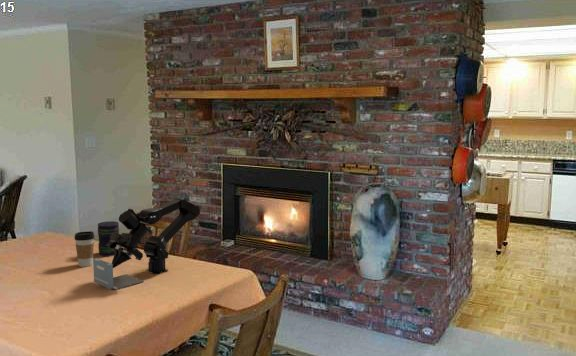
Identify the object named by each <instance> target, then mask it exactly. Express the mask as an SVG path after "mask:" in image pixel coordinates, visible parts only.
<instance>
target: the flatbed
mask: <svg viewBox="0 0 576 356" xmlns="http://www.w3.org/2000/svg"><path fill="white" fill-rule="evenodd" d="M143 283H145V281H144V280H143V279H139V278H137V277H135V276H133V275H130V274H127V273H126V274H121V275H119V276H118V275H117V276H113V286H114V288H111V289H110V290H113V291H117V290H121V289H122V290H123V289H125V288H128V287H132V286H135V285H139V284H143Z"/></svg>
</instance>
